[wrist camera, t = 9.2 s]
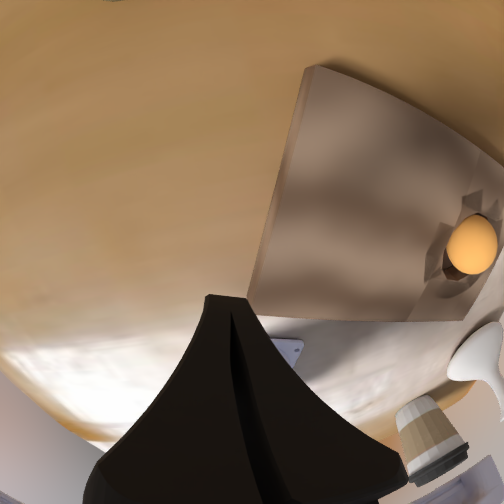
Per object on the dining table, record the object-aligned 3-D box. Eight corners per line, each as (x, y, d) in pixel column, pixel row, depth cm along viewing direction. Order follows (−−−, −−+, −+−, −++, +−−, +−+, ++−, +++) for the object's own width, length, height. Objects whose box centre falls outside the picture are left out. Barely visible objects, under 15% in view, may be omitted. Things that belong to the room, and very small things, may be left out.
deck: (453, 309, 26) (462, 320, 24) (246, 296, 21) (249, 314, 19) (512, 180, 18) (525, 187, 17) (304, 68, 14) (315, 64, 12)
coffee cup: (378, 430, 41) (403, 495, 28) (391, 404, 35) (424, 482, 22) (428, 408, 41) (456, 466, 28) (447, 377, 35) (485, 444, 22)
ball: (482, 292, 16) (432, 266, 20) (487, 274, 19) (446, 253, 23) (504, 232, 14) (449, 208, 17) (505, 223, 17) (460, 203, 20)
